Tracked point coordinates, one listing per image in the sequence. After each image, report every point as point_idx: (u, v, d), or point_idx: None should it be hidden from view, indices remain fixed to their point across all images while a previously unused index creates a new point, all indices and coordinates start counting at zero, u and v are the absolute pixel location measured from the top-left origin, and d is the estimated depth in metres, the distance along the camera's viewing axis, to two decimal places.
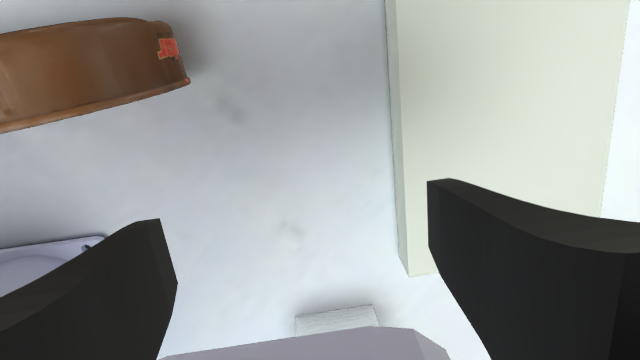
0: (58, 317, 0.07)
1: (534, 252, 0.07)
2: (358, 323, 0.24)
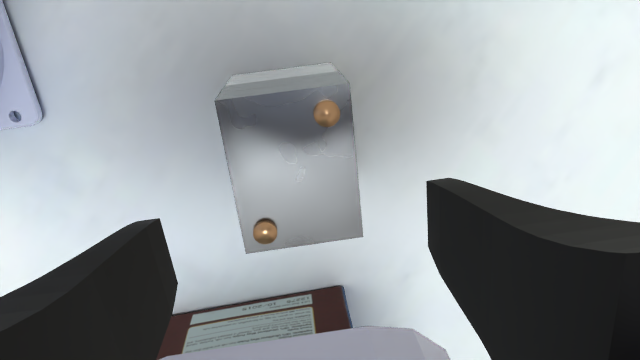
0: (58, 317, 0.07)
1: (534, 252, 0.07)
2: (310, 69, 0.19)
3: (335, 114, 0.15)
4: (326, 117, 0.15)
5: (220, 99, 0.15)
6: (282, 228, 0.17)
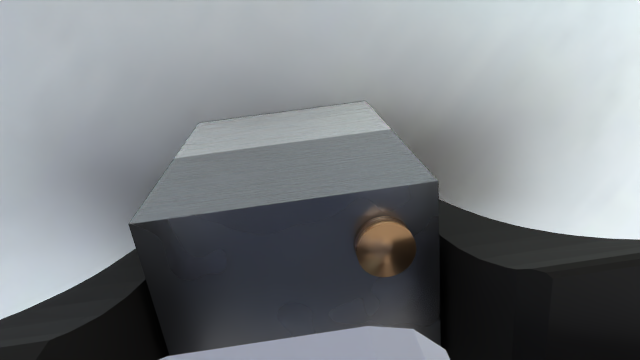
0: (137, 305, 0.07)
1: (456, 263, 0.07)
2: (333, 118, 0.11)
3: (405, 250, 0.07)
4: (384, 258, 0.07)
5: (143, 219, 0.07)
6: None
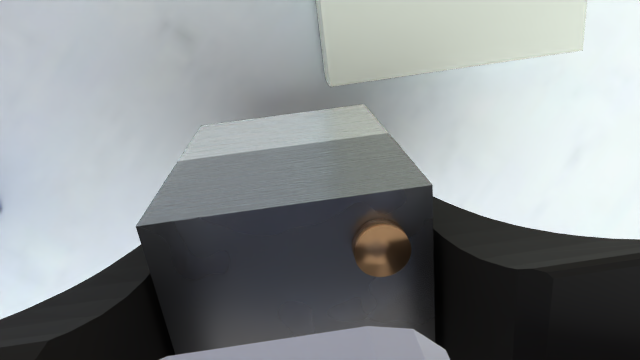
0: (137, 305, 0.07)
1: (457, 264, 0.07)
2: (332, 121, 0.11)
3: (400, 251, 0.07)
4: (381, 259, 0.07)
5: (150, 221, 0.07)
6: None
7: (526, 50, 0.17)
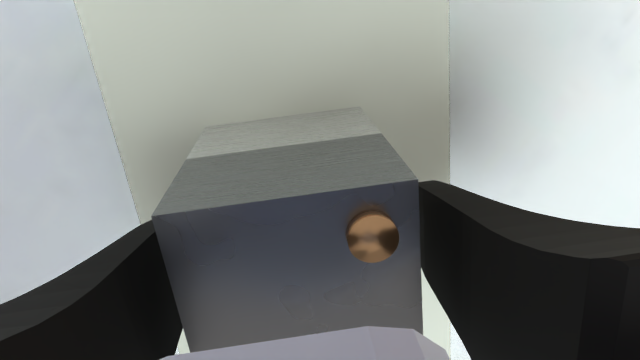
0: (84, 313, 0.07)
1: (509, 256, 0.07)
2: (330, 122, 0.12)
3: (389, 239, 0.08)
4: (371, 246, 0.08)
5: (163, 212, 0.08)
6: None
7: None
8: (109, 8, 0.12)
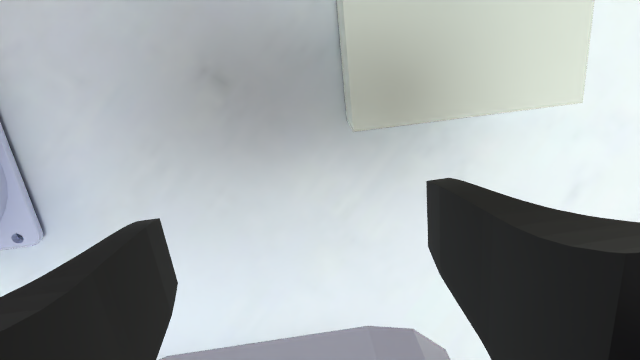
0: (58, 317, 0.07)
1: (534, 252, 0.07)
2: None
3: None
4: None
5: None
6: None
7: (531, 102, 0.19)
8: None
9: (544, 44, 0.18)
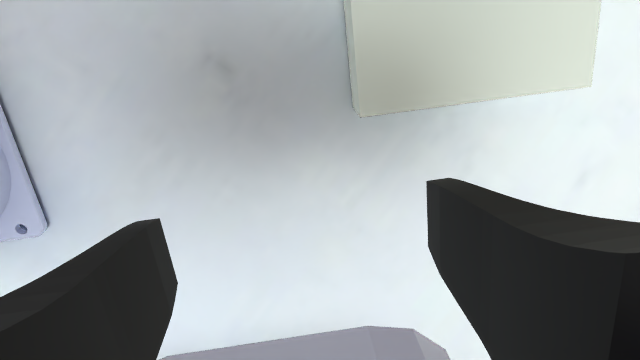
0: (58, 317, 0.07)
1: (534, 252, 0.07)
2: None
3: None
4: None
5: None
6: None
7: (540, 86, 0.19)
8: None
9: (552, 27, 0.18)
